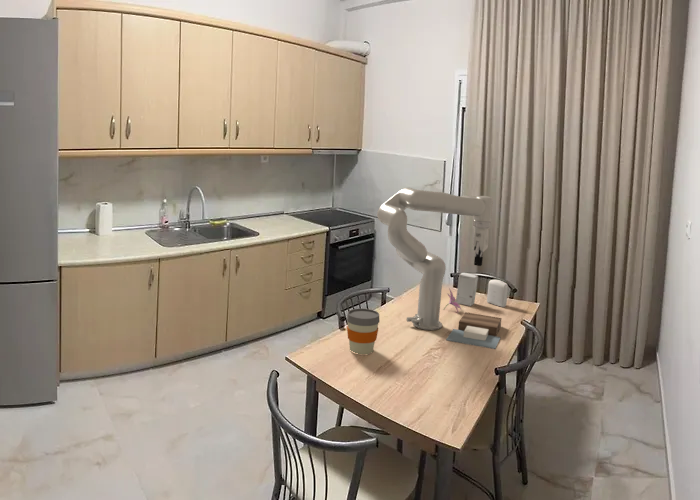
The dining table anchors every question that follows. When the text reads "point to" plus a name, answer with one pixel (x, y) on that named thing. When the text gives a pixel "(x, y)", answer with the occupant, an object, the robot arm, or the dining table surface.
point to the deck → (480, 322)
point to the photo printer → (497, 293)
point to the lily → (453, 301)
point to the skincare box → (466, 289)
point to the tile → (476, 333)
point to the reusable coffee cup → (362, 330)
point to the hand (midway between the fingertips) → (478, 265)
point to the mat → (458, 337)
